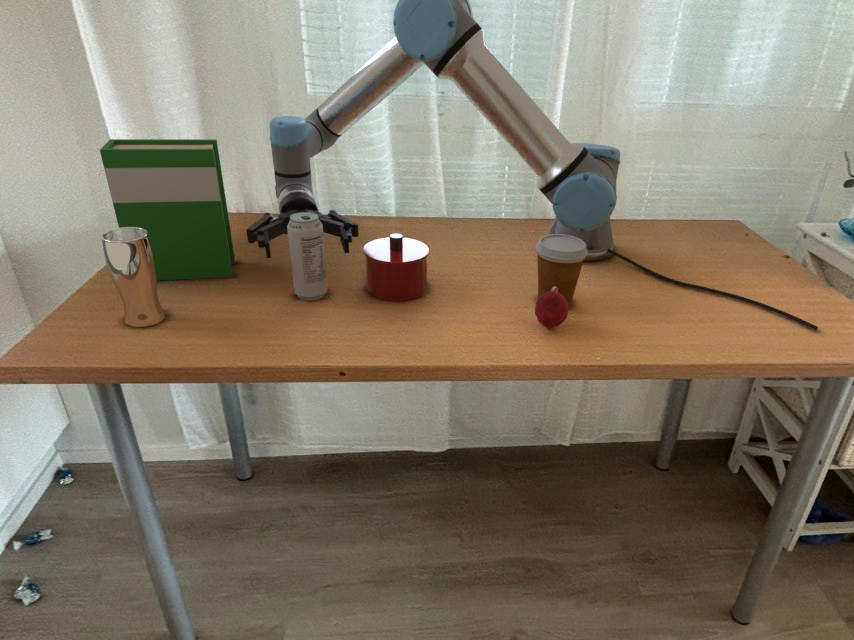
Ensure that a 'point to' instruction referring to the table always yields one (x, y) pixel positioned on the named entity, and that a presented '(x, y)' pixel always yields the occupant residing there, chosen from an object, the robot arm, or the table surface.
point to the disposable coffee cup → (559, 263)
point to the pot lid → (396, 250)
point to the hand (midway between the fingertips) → (308, 248)
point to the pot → (396, 280)
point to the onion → (551, 308)
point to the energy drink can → (307, 255)
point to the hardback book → (173, 202)
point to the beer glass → (134, 274)
